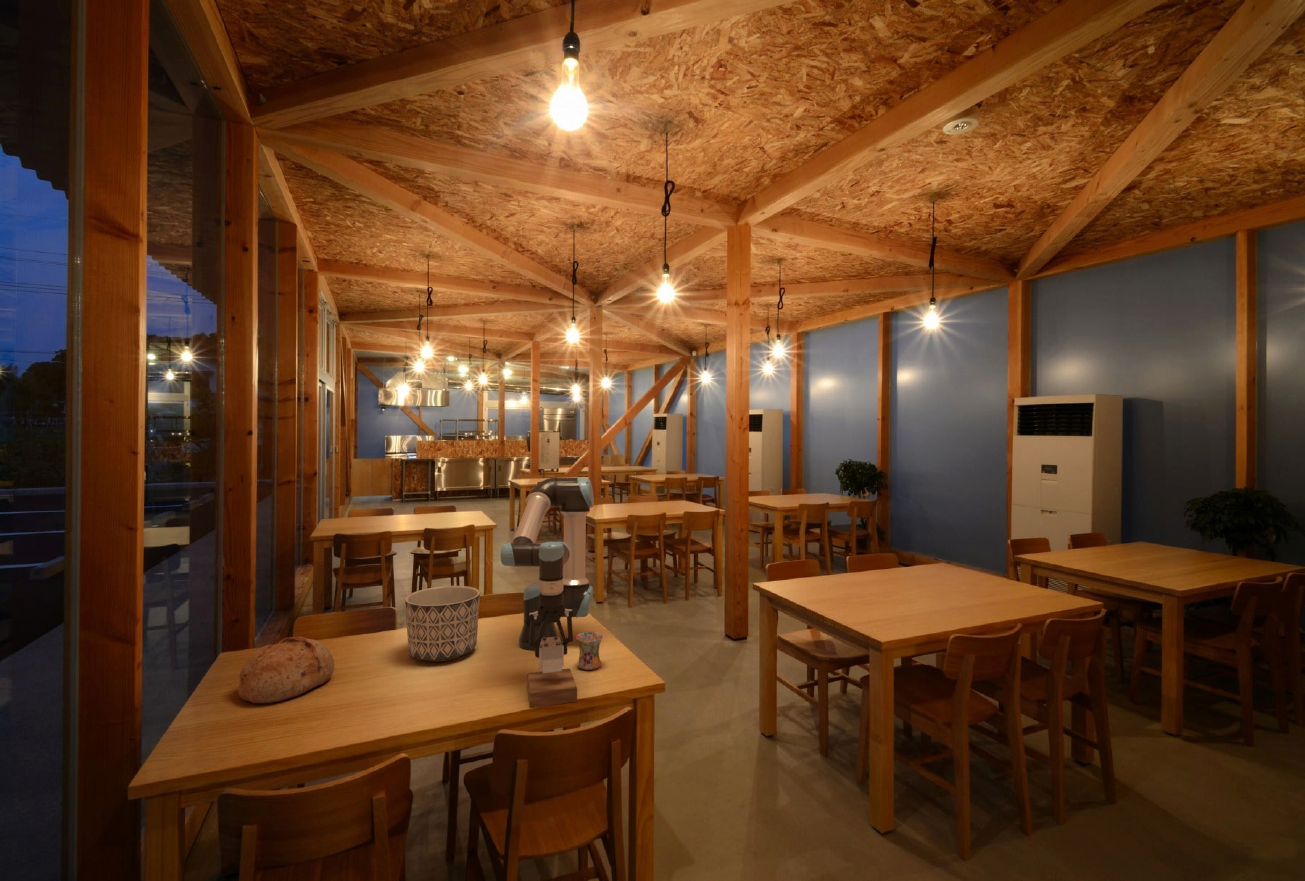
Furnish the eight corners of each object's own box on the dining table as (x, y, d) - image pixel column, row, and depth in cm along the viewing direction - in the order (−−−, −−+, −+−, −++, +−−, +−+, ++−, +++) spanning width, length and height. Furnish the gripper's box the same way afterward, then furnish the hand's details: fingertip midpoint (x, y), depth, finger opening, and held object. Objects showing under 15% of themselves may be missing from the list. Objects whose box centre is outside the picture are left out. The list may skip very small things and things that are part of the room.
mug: (605, 670, 192) (605, 639, 192) (578, 673, 189) (578, 642, 189) (597, 657, 203) (597, 628, 203) (572, 660, 200) (572, 630, 200)
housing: (540, 663, 177) (540, 636, 177) (559, 661, 178) (559, 635, 178) (542, 673, 169) (542, 645, 169) (562, 671, 171) (562, 643, 171)
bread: (271, 712, 162) (271, 661, 161) (218, 699, 170) (218, 650, 170) (349, 676, 186) (349, 632, 186) (300, 666, 194) (300, 623, 194)
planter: (479, 638, 222) (479, 583, 222) (480, 663, 197) (480, 601, 197) (408, 645, 214) (408, 588, 214) (401, 672, 189) (401, 608, 189)
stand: (526, 686, 179) (526, 672, 179) (570, 680, 183) (570, 667, 183) (530, 707, 165) (530, 693, 165) (577, 701, 169) (577, 687, 169)
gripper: (520, 597, 167) (520, 674, 167) (583, 593, 173) (583, 667, 173) (519, 591, 175) (519, 664, 175) (579, 587, 180) (579, 658, 180)
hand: (551, 665), depth 174 cm, fingers closed on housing, 6 cm apart
